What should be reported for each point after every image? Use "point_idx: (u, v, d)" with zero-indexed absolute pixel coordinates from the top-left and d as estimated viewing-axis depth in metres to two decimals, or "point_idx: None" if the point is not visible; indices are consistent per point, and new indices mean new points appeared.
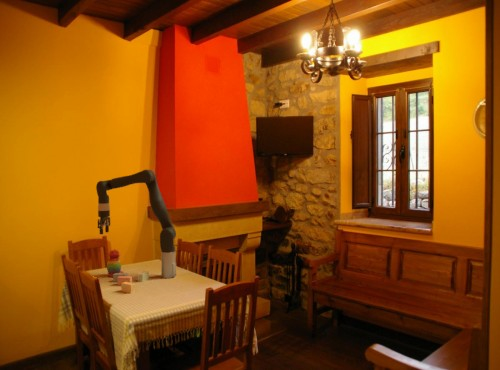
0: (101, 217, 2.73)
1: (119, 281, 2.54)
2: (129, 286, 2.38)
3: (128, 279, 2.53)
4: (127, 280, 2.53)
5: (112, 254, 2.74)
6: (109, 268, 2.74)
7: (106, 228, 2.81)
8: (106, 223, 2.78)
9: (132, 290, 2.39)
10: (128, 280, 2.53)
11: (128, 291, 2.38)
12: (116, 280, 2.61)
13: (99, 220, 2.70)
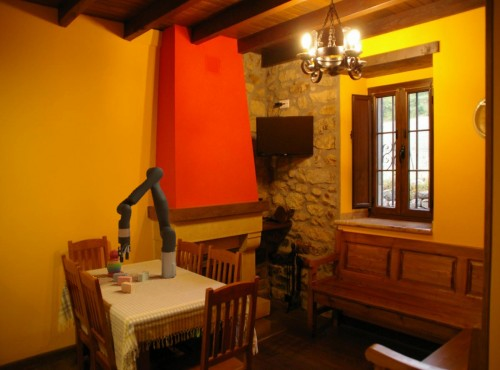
0: (121, 244, 2.51)
1: (119, 281, 2.54)
2: (129, 286, 2.38)
3: (128, 279, 2.53)
4: (127, 280, 2.53)
5: (112, 254, 2.74)
6: (109, 268, 2.74)
7: (126, 255, 2.59)
8: (126, 250, 2.56)
9: (132, 290, 2.39)
10: (128, 280, 2.53)
11: (128, 291, 2.38)
12: (116, 280, 2.61)
13: (119, 247, 2.48)
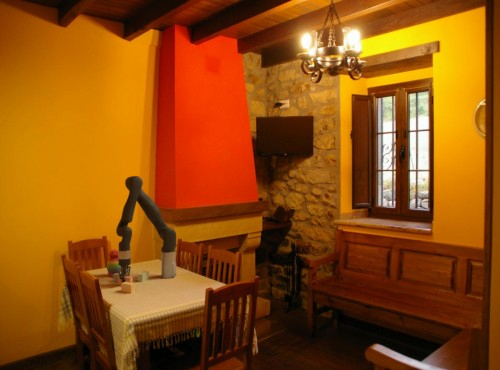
0: (122, 266, 2.51)
1: (119, 281, 2.54)
2: (129, 286, 2.38)
3: (128, 279, 2.53)
4: (127, 280, 2.53)
5: (112, 254, 2.74)
6: (109, 268, 2.74)
7: None
8: None
9: (133, 289, 2.39)
10: (128, 280, 2.53)
11: (128, 291, 2.38)
12: (116, 280, 2.61)
13: (120, 272, 2.49)
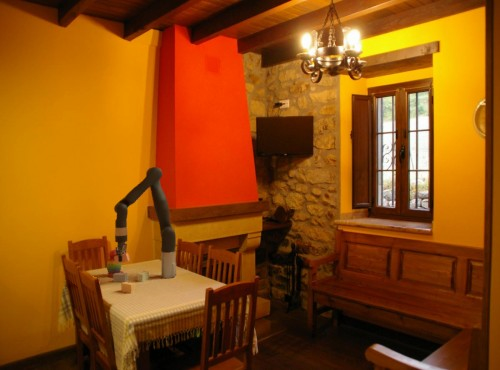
0: (119, 242, 2.55)
1: (117, 259, 2.58)
2: (129, 286, 2.38)
3: (125, 255, 2.57)
4: (124, 257, 2.57)
5: (112, 254, 2.74)
6: (109, 268, 2.74)
7: None
8: (123, 248, 2.59)
9: (133, 289, 2.39)
10: (125, 256, 2.57)
11: (128, 291, 2.38)
12: (116, 280, 2.61)
13: (117, 248, 2.53)
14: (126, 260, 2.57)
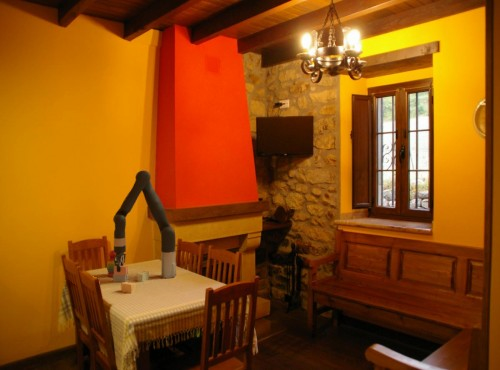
0: (117, 253, 2.59)
1: (115, 270, 2.61)
2: (129, 286, 2.38)
3: (124, 268, 2.61)
4: (123, 269, 2.61)
5: (112, 254, 2.74)
6: (109, 268, 2.74)
7: None
8: (121, 259, 2.63)
9: (133, 289, 2.39)
10: (124, 269, 2.61)
11: (128, 291, 2.38)
12: (116, 280, 2.61)
13: (115, 259, 2.56)
14: (124, 273, 2.61)
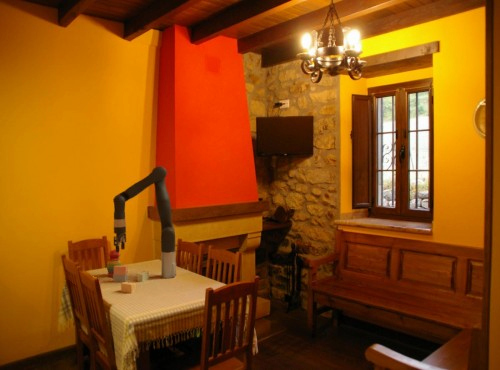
0: (117, 234, 2.59)
1: (115, 270, 2.61)
2: (130, 286, 2.38)
3: (124, 268, 2.61)
4: (123, 269, 2.61)
5: (112, 254, 2.74)
6: (109, 268, 2.74)
7: (122, 245, 2.66)
8: (122, 240, 2.64)
9: (133, 289, 2.39)
10: (124, 269, 2.61)
11: (128, 291, 2.38)
12: (116, 280, 2.61)
13: (115, 237, 2.56)
14: (124, 273, 2.61)
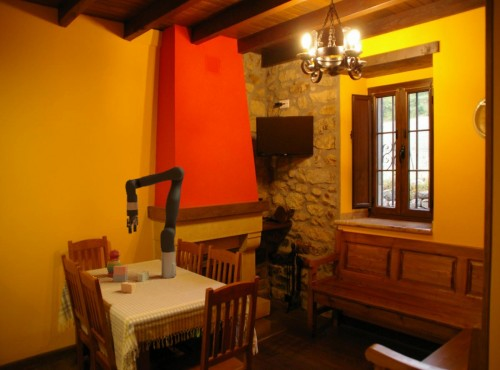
0: (130, 216, 2.70)
1: (115, 270, 2.61)
2: (130, 286, 2.38)
3: (124, 268, 2.61)
4: (123, 269, 2.61)
5: (112, 254, 2.74)
6: (109, 268, 2.74)
7: (134, 227, 2.77)
8: (134, 222, 2.75)
9: (133, 289, 2.39)
10: (124, 269, 2.61)
11: (128, 291, 2.38)
12: (116, 280, 2.61)
13: (128, 219, 2.67)
14: (124, 273, 2.61)
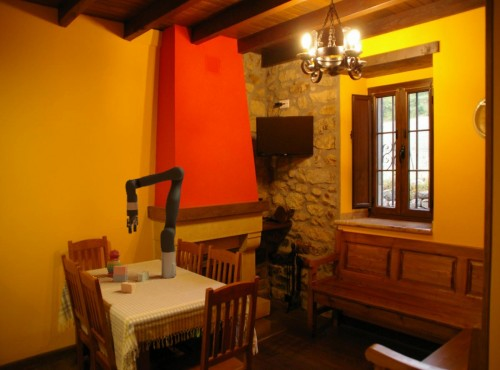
0: (130, 216, 2.70)
1: (115, 270, 2.61)
2: (130, 286, 2.38)
3: (124, 268, 2.61)
4: (123, 269, 2.61)
5: (112, 254, 2.74)
6: (109, 268, 2.74)
7: (134, 227, 2.77)
8: (134, 222, 2.75)
9: (133, 289, 2.39)
10: (124, 269, 2.61)
11: (129, 291, 2.38)
12: (116, 280, 2.61)
13: (128, 219, 2.67)
14: (124, 273, 2.61)
